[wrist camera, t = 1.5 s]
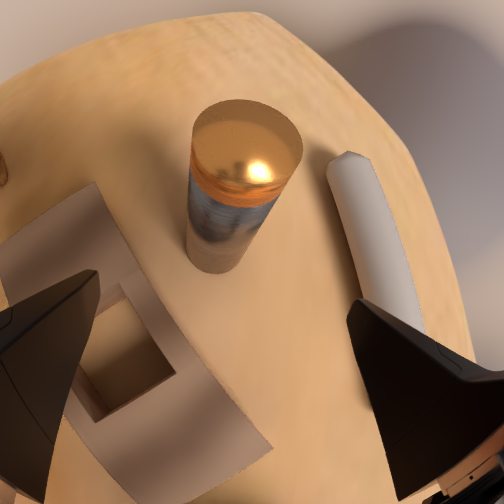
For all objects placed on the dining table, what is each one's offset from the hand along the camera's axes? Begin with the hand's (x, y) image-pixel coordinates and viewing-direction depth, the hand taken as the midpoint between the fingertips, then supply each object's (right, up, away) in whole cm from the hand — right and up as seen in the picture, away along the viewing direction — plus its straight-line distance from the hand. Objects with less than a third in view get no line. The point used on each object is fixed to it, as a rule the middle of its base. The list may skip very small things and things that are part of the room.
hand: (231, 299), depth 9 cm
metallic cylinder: (-2, +2, +14) cm, 14 cm away
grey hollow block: (-9, -6, +9) cm, 14 cm away
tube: (+12, -2, +16) cm, 20 cm away
